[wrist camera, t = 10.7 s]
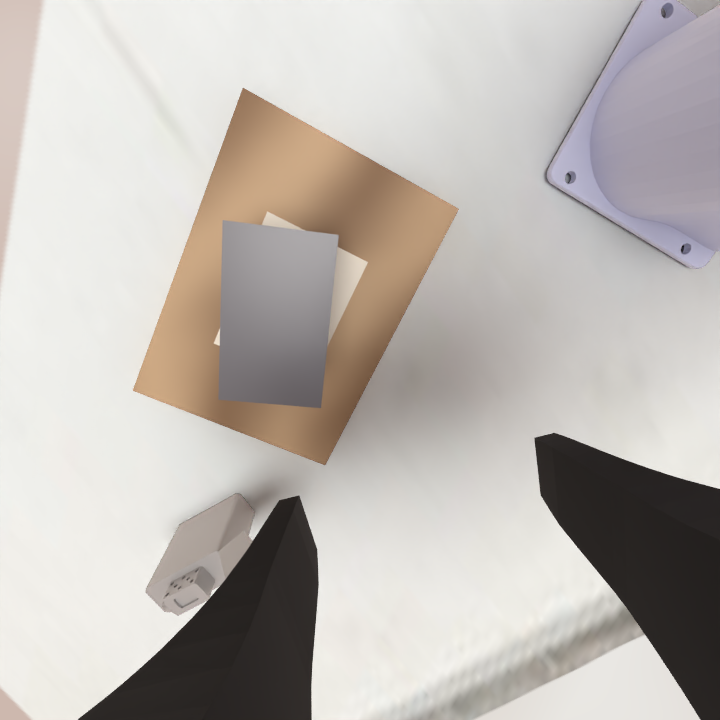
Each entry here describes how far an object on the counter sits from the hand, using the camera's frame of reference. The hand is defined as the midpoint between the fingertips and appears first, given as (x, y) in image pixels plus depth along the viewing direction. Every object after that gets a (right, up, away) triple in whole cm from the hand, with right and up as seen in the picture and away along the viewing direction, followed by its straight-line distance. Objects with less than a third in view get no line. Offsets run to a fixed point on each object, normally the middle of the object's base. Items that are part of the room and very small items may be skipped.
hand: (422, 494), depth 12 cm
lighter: (-9, -4, +11) cm, 14 cm away
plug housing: (-5, +7, +6) cm, 10 cm away
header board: (-5, +7, +7) cm, 11 cm away
